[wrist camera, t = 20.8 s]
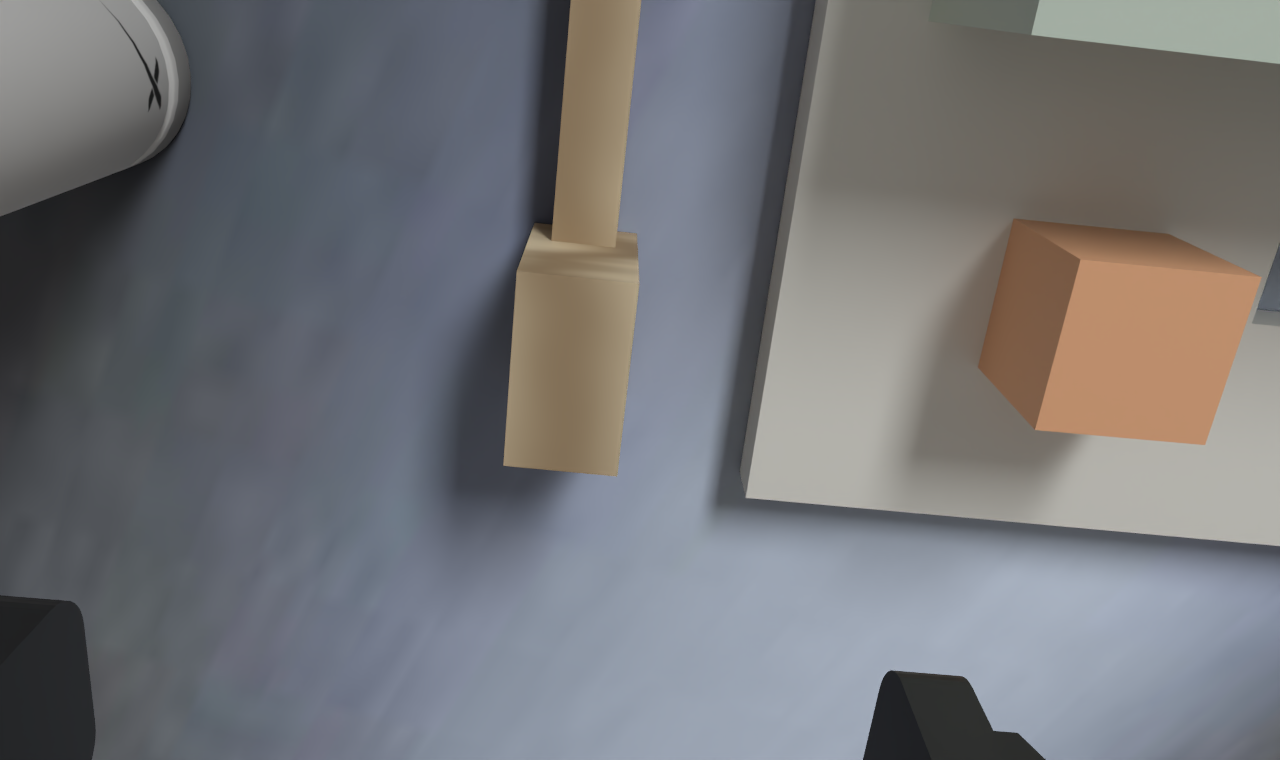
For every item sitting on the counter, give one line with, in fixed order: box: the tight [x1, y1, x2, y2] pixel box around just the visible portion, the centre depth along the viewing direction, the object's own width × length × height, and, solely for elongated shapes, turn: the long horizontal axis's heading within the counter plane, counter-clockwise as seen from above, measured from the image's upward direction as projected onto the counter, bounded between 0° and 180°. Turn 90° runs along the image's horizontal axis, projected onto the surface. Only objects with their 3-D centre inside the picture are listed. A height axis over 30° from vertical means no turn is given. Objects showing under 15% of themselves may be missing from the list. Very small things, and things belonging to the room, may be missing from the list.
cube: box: [978, 219, 1262, 445], centre depth 30 cm, size 5×5×5 cm
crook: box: [503, 0, 641, 476], centre depth 29 cm, size 9×19×6 cm, turn 174°
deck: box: [740, 0, 1280, 546], centre depth 28 cm, size 24×29×10 cm
